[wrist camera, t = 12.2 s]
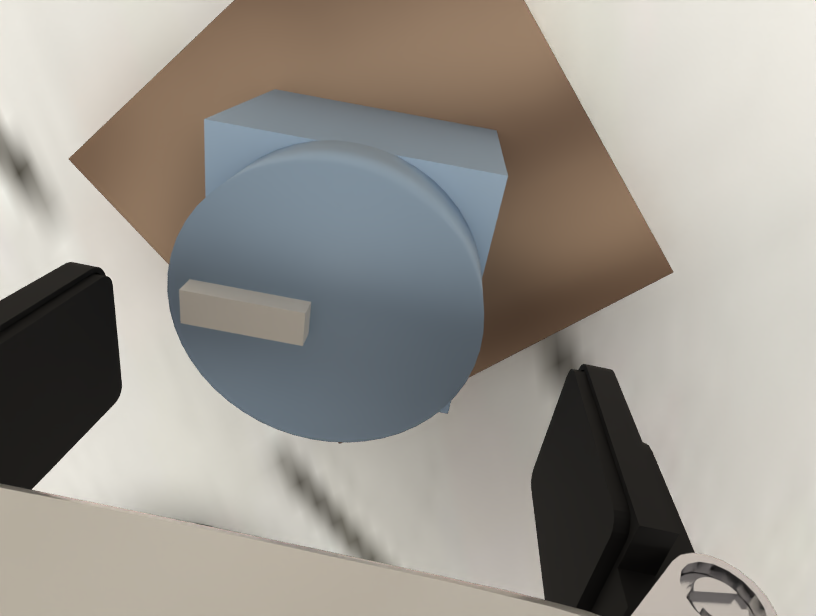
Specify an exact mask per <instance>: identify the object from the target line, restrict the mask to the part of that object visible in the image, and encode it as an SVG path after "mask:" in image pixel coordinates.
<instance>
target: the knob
mask: <svg viewBox="0 0 816 616" xmlns="http://www.w3.org/2000/svg"><path fill="white" fill-rule="evenodd" d="M204 143H205V197H206V198H205V199H204V200H203V201H201V202H200V203H199V204H198V205H197V206H196V208H195V209H194V210H193V212H192V213H191V214H190V216H189V217H188V218H187V220H186V221H185V223H184V225H183V227H182V229H181V230H180V232H179V234H178V236H177V238H176V241H175V244H174V247H173V250H172V253H171V257H170V263H169V269H168V289H167V292H168V299H169V307H170V312H171V316H172V319H173V323H174V327H175V329H176V332H177V334H178V336H179V339H180V341H181V344H182V345H183V347H184V349H185V351H186V352H187V354H188V356H189V358H190V359H191V361H192V362H193V364H194V365H195V366H196V368H197V369H198V371H199V372H200V373H201V375H202V376H203V377H204V378H205V379H206V380H207V381H208V382H209V383H210V385H211V386H212V387H213V388H214V389H215V390H216V391H217V392H219V393H220V394H221V395H222V396H223V397H224V398H225V399H227V400H228V401H229V402H230V403H232V404H233V405H234V406H236V407H237V408H239V409H240V410H241V411H243V412H244V413H246V414H248V415H250V416H251V417H253V418H255V419H256V420H258V421H260V422H262V423H264V424H267V425H269V426H271V427H273V428H275V429H278V430H281V431H284V432H287V433H290V434H293V435H296V436H300V437H305V438H309V439H314V440H321V441H328V442H361V441H369V440H375V439H381V438H385V437H388V436H392V435H395V434H399V433H401V432H404V431H406V430H408V429H411V428H413V427H416V426H417V425H419V424H421V423H422V422H424V421H426V420H428V419H429V418H431V417H432V416H434V415H435V414H436V413H437V412H442V413H447V414H448V411H449V407H450V403H451V400H452V399H453V398H454V397H455V396H456V395H457V393H458V392H459V391H460V389H461V388H462V387H463V385H464V384H465V382H466V381H467V379H468V377H469V375H470V373H471V372H472V370H473V368H474V366H475V363H476V360H477V357H478V354H479V352H480V348H481V342H482V337H483V330H484V304H483V288H482V277H483V273H484V269H485V265H486V261H487V257H488V253H489V249H490V245H491V241H492V237H493V233H494V229H495V225H496V221H497V218H498V214H499V210H500V206H501V202H502V198H503V194H504V190H505V186H506V182H507V178H508V174H507V170H506V166H505V162H504V158H503V154H502V150H501V146H500V142H499V138H498V134H497V130H491V129H486V128H481V127H475V126H470V125H464V124H459V123H454V122H448V121H443V120H438V119H432V118H427V117H422V116H416V115H411V114H405V113H400V112H395V111H389V110H384V109H379V108H373V107H368V106H363V105H357V104H352V103H347V102H341V101H336V100H330V99H325V98H320V97H314V96H309V95H304V94H298V93H293V92H288V91H282V90H277V89H274V90H272V91H269V92H267V93H265V94H262V95H260V96H258V97H255V98H253V99H250V100H248V101H246V102H243V103H241V104H239V105H236V106H234V107H232V108H229V109H227V110H224V111H222V112H220V113H217V114H215V115H213V116H210V117H208V118H206V119H204Z"/></svg>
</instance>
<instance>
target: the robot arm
mask: <svg viewBox="0 0 816 616" xmlns="http://www.w3.org/2000/svg"><path fill="white" fill-rule="evenodd" d="M121 389H122V380H121V369H120V358H119V348H118V337H117V326H116V315H115V305H114V294H113V284H112V281H111V279H110V278H109V277H108V276H106V275H105V273H104V271H103V270H102V269H101V268H99V267H94V266H89V265H84V264H79V263H74V262H69V263H66V264H64V265H62V266H60V267H59V268H57V269H55V270H53V271H52V272H50V273H48V274H46V275H45V276H43V277H41V278H39V279H38V280H36V281H34V282H32V283H30V284H29V285H27V286H25V287H23V288H22V289H20V290H18V291H16V292H15V293H13V294H11V295H9V296H8V297H6V298H4V299H2V300H1V301H0V616H777V614H776V611H775V610H774V608H773V606H772V604H771V603H770V601H769V599H768V598H767V596H766V595H765V594H764V593H763V592H762V591H761V590H760V588H759V587H758V586H757V585H756V584H755V583H754V582H753V581H752V580H751V579H749V578H748V577H747V576H746V575H744V574H743V573H742V572H741V571H740V570H738V569H736V568H735V567H733V566H731V565H729V564H728V563H726V562H724V561H722V560H720V559H717V558H714V557H712V556H709V555H705V554H698V553H695V552H694V550H693V547H692V545H691V543H690V540H689V538H688V536H687V533H686V531H685V528H684V526H683V524H682V521H681V519H680V516H679V514H678V512H677V509H676V507H675V505H674V502H673V500H672V497H671V495H670V493H669V490H668V488H667V486H666V483H665V481H664V478H663V476H662V474H661V471H660V469H659V466H658V464H657V462H656V459H655V457H654V455H653V452H652V450H651V449H650V447H649V445H647V444H645V443H643V442H642V440H641V437H640V435H639V432H638V430H637V428H636V425H635V423H634V420H633V418H632V415H631V413H630V410H629V408H628V405H627V403H626V400H625V398H624V395H623V393H622V391H621V388H620V386H619V383H618V381H617V378H616V376H615V373H614V372H613V370H611V369H606V368H601V367H596V366H591V365H586V364H583V365H581V366H580V368H579V370H574V369H571V370H570V371H569V373H568V375H567V378H566V380H565V383H564V386H563V389H562V391H561V394H560V397H559V400H558V403H557V405H556V408H555V411H554V414H553V416H552V419H551V422H550V425H549V427H548V430H547V433H546V436H545V439H544V441H543V444H542V447H541V450H540V452H539V455H538V458H537V461H536V463H535V466H534V469H533V473H532V479H531V490H532V498H533V506H534V514H535V522H536V531H537V539H538V547H539V555H540V563H541V572H542V580H543V588H544V596H545V600H543V599H539V598H535V597H531V596H527V595H523V594H519V593H515V592H511V591H507V590H503V589H498V588H493V587H489V586H484V585H479V584H474V583H470V582H466V581H461V580H457V579H453V578H448V577H444V576H440V575H435V574H430V573H426V572H421V571H416V570H412V569H407V568H402V567H398V566H393V565H388V564H384V563H379V562H374V561H370V560H365V559H361V558H356V557H351V556H347V555H342V554H337V553H333V552H328V551H323V550H319V549H314V548H309V547H305V546H300V545H295V544H291V543H286V542H281V541H276V540H272V539H267V538H262V537H257V536H253V535H248V534H243V533H238V532H234V531H229V530H224V529H219V528H214V527H210V526H205V525H200V524H195V523H191V522H186V521H181V520H176V519H171V518H166V517H162V516H157V515H152V514H147V513H142V512H138V511H133V510H128V509H123V508H118V507H113V506H109V505H104V504H99V503H94V502H89V501H84V500H79V499H74V498H69V497H64V496H59V495H54V494H49V493H44V492H40V491H35V490H32V489H33V488H34V486H35V485H36V484H37V483H38V482H39V481H40V480H41V479H42V478H43V477H44V476H45V475H46V474H47V473H48V472H49V471H50V470H51V469H52V468H53V467H54V466H55V465H56V464H57V463H58V462H59V461H60V460H61V459H62V458H63V457H64V455H65V454H66V453H67V452H68V451H69V450H70V449H71V448H72V447H73V446H74V445H75V444H76V443H77V442H78V441H79V440H80V439H81V438H82V437H83V436H84V435H85V434H86V433H87V432H88V431H89V430H90V429H91V428H92V427H93V426H94V424H95V423H96V422H97V421H98V420H99V419H100V418H101V417H102V416H103V415H104V414H105V413H106V412H107V411H108V410H109V409H110V408H111V407H112V406H113V405H114V404H115V403H116V401H117V400H118V398H119V396H120V393H121Z"/></svg>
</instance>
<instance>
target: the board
mask: <svg viewBox="0 0 816 616" xmlns="http://www.w3.org/2000/svg"><path fill="white" fill-rule="evenodd" d="M274 89H277V90H282V91H288V92H293V93H298V94H304V95H309V96H314V97H320V98H325V99H330V100H336V101H341V102H347V103H352V104H357V105H363V106H368V107H373V108H379V109H384V110H389V111H395V112H400V113H405V114H411V115H416V116H422V117H427V118H432V119H438V120H443V121H448V122H454V123H459V124H464V125H470V126H475V127H481V128H486V129H491V130H497V134H498V138H499V142H500V146H501V150H502V154H503V158H504V162H505V166H506V170H507V174H508V178H507V182H506V186H505V190H504V194H503V198H502V202H501V206H500V210H499V214H498V218H497V221H496V225H495V229H494V233H493V237H492V241H491V245H490V249H489V253H488V257H487V261H486V265H485V269H484V273H483V277H482V288H483V304H484V330H483V337H482V342H481V348H480V352H479V354H478V357H477V360H476V363H475V366H474V368H473V370H472V372H471V373H470V375H469V377H471V376H473V375H475V374H476V373H478V372H480V371H482V370H484V369H486V368H488V367H490V366H492V365H494V364H496V363H498V362H500V361H502V360H504V359H506V358H508V357H510V356H512V355H513V354H515V353H517V352H519V351H521V350H523V349H525V348H527V347H529V346H531V345H533V344H535V343H537V342H539V341H541V340H543V339H545V338H547V337H548V336H550V335H552V334H554V333H556V332H558V331H560V330H562V329H564V328H566V327H568V326H570V325H572V324H574V323H576V322H578V321H580V320H582V319H584V318H585V317H587V316H589V315H591V314H593V313H595V312H597V311H599V310H601V309H603V308H605V307H607V306H609V305H611V304H613V303H615V302H617V301H619V300H620V299H622V298H624V297H626V296H628V295H630V294H632V293H634V292H636V291H638V290H640V289H642V288H644V287H646V286H648V285H650V284H652V283H654V282H656V281H657V280H659V279H661V278H663V277H665V276H667V275H669V274H671V273H673V270H672V269H671V267H670V265H669V263H668V261H667V260H666V258H665V256H664V254H663V252H662V250H661V249H660V247H659V245H658V243H657V241H656V240H655V238H654V236H653V234H652V232H651V230H650V229H649V227H648V225H647V223H646V221H645V219H644V218H643V216H642V214H641V212H640V210H639V209H638V207H637V205H636V203H635V201H634V199H633V198H632V196H631V194H630V192H629V190H628V189H627V187H626V185H625V183H624V181H623V179H622V178H621V176H620V174H619V172H618V170H617V169H616V167H615V165H614V163H613V161H612V159H611V158H610V156H609V154H608V152H607V150H606V149H605V147H604V145H603V143H602V141H601V139H600V138H599V136H598V134H597V132H596V130H595V129H594V127H593V125H592V123H591V121H590V119H589V118H588V116H587V114H586V112H585V110H584V109H583V107H582V105H581V103H580V101H579V99H578V98H577V96H576V94H575V92H574V90H573V88H572V87H571V85H570V83H569V81H568V79H567V78H566V76H565V74H564V72H563V70H562V68H561V67H560V65H559V63H558V61H557V59H556V58H555V56H554V54H553V52H552V50H551V48H550V47H549V45H548V43H547V41H546V39H545V38H544V36H543V34H542V32H541V30H540V28H539V27H538V25H537V23H536V21H535V19H534V18H533V16H532V14H531V12H530V10H529V8H528V7H527V5H526V3H525V1H524V0H234V1H233V2H232V3H231V4H230V5H229V6H228V7H227V8H226V9H225V10H224V11H223V12H222V13H220V14H219V15H218V16H217V17H216V18H215V19H214V20H213V21H212V22H211V23H210V24H209V25H208V26H207V27H206V28H205V29H204V30H203V31H202V32H201V33H200V34H199V35H197V36H196V37H195V38H194V39H193V40H192V41H191V42H190V43H189V44H188V45H187V46H186V47H185V48H184V49H183V50H182V51H181V52H180V53H179V54H178V55H177V56H176V57H175V58H173V59H172V60H171V61H170V62H169V63H168V64H167V65H166V66H165V67H164V68H163V69H162V70H161V71H160V72H159V73H158V74H157V75H156V76H155V77H154V78H153V79H152V80H150V81H149V82H148V83H147V84H146V85H145V86H144V87H143V88H142V89H141V90H140V91H139V92H138V93H137V94H136V95H135V96H134V97H133V98H132V99H131V100H130V101H129V102H128V103H126V104H125V105H124V106H123V107H122V108H121V109H120V110H119V111H118V112H117V113H116V114H115V115H114V116H113V117H112V118H111V119H110V120H109V121H108V122H107V123H106V124H105V125H104V126H102V127H101V128H100V129H99V130H98V131H97V132H96V133H95V134H94V135H93V136H92V137H91V138H90V139H89V140H88V141H87V142H86V143H85V144H84V145H83V146H82V147H81V148H79V149H78V150H77V151H76V152H75V153H74V154H73V155H72V156H71V157H70V158H69V160H70V161H71V162H72V163H73V164H74V165H75V167H76V168H77V169H78V170H79V171H80V172H81V173H82V174H83V175H84V176H85V177H86V178H87V179H88V180H89V181H90V182H91V183H92V184H93V185H94V186H95V188H96V189H97V190H98V191H99V192H100V193H101V194H102V195H103V196H104V197H105V198H106V199H107V200H108V201H109V202H110V203H111V204H112V205H113V206H114V207H115V208H116V210H117V211H118V212H119V213H120V214H121V215H122V216H123V217H124V218H125V219H126V220H127V221H128V222H129V223H130V224H131V225H132V226H133V227H134V228H135V229H136V231H137V232H138V233H139V234H140V235H141V236H142V237H143V238H144V239H145V240H146V241H147V242H148V243H149V244H150V245H151V246H152V247H153V248H154V249H155V250H156V252H157V253H158V254H159V255H160V256H161V257H162V258H163V259H164V260H165V261H166V262H167V263H168V264H169V263H170V257H171V253H172V250H173V247H174V244H175V241H176V238H177V236H178V234H179V232H180V230H181V229H182V227H183V225H184V223H185V221H186V220H187V218H188V217H189V216H190V214H191V213H192V212H193V210H194V209H195V208H196V206H197V205H198V204H199V203H200V202H201V201H203V200H204V199H205V198H206V197H205V143H204V119H206V118H208V117H210V116H213V115H215V114H217V113H220V112H222V111H224V110H227V109H229V108H232V107H234V106H236V105H239V104H241V103H243V102H246V101H248V100H250V99H253V98H255V97H258V96H260V95H262V94H265V93H267V92H269V91H272V90H274ZM469 377H468V378H469ZM338 443H339V444H340V443H342V442H338Z"/></svg>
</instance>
